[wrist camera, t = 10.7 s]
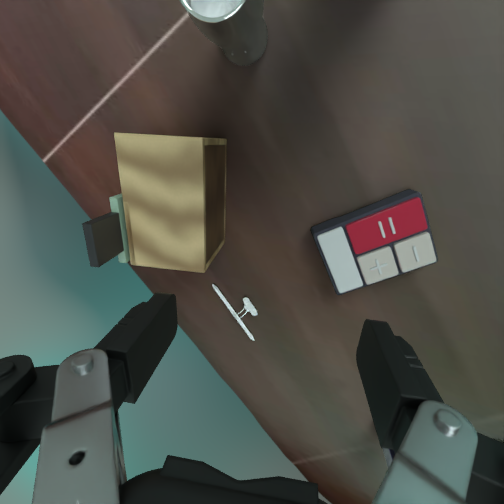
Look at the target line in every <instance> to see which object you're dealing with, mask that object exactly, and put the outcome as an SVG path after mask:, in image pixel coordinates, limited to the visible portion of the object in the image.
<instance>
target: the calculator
mask: <svg viewBox="0 0 504 504" xmlns="http://www.w3.org/2000/svg"><path fill="white" fill-rule="evenodd" d="M311 233H312V235H313V238H314V240H315V243H316V245H317V247H318V250H319V252H320V255H321V257H322V260H323V262H324V265H325V267H326V270H327V272H328V275H329V277H330V280H331V282H332V285H333V287H334V289H335V292H336V294H337V295H341V294H344V293H347V292H350V291H353V290H356V289H359V288H362V287H365V286H368V285H371V284H374V283H377V282H380V281H383V280H386V279H389V278H392V277H395V276H398V275H401V274H404V273H407V272H410V271H413V270H416V269H419V268H422V267H425V266H428V265H430V264H433V263H436V262H437V261H438V256H437V252H436V248H435V244H434V241H433V237H432V233H431V229H430V225H429V221H428V217H427V214H426V210H425V206H424V202H423V198H422V195H421V193H420V192H417V191H414V190H411V189H408V190H405V191H403V192H400V193H398V194H395V195H393V196H391V197H388V198H386V199H383V200H381V201H378V202H376V203H373V204H371V205H368V206H366V207H363V208H361V209H358V210H356V211H353V212H351V213H348V214H346V215H344V216H341V217H338V218H333V219H331V220H328V221H326V222H323V223H321V224H318V225H316V226H313V227H312V228H311Z"/></svg>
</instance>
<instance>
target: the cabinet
mask: <svg viewBox="0 0 504 504" xmlns="http://www.w3.org/2000/svg"><path fill="white" fill-rule="evenodd" d="M114 137H115V145H116V153H117V160H118V168H119V175H120V183H121V191H122V198H123V206H124V214H125V221H126V229H127V237H128V244H129V252H130V259H131V265H138V266H147V267H156V268H165V269H174V270H183V271H191V272H200V273H205V271H206V270H207V268H208V267H209V265H210V264H211V262H212V261H213V259H214V258H215V256H216V255H217V253H218V252H219V250H220V249H221V247H222V246H223V244H224V243H225V213H226V152H227V139H222V138H205V137H188V136H171V135H154V134H133V133H114Z"/></svg>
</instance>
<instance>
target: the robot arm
mask: <svg viewBox="0 0 504 504" xmlns="http://www.w3.org/2000/svg"><path fill="white" fill-rule="evenodd" d="M176 331H177V306H176V296H175V295H174V294H168V293H160V292H157V293H155V294H154V295H153V296H152V298H151V299H150V300H149V301H148V302H142V303H141V304H138V305H137V306H135V307H133V308H132V309H131V310H130V311H129V312H128V313H127V314H126V315H125V316H124V318H122V319H121V320H120V321H119V322H118V325H117V324H116V325H115V327H113V329H112V330H111V331H110V332H109V333H108V334H107V335H106V336H105V337H104V338H103V339H102V340H101V341H100V342H99V343H98V344H97V345H96V346H95V347H94V348H93V349H85V350H82V351H79V352H76V353H74V354H72V355H70V356H69V357H67V358H66V359H65V360H64V361H63V362H62V363H61V364H60V365H52V366H43V367H34V365H33V363H32V360H31V358H30V357H28V356H25V355H13V356H9V357H5V358H2V359H0V495H1V494H2V492H3V491H4V490H5V488H6V487H7V486H8V484H9V483H10V482H11V480H12V479H13V478H14V477H15V475H16V474H17V473H18V471H19V470H20V469H21V468H22V466H23V465H24V464H25V462H26V461H27V460H28V458H29V457H30V456H31V454H32V453H33V452H34V451H35V449H36V448H37V447H38V445H39V444H40V450H39V457H38V464H37V471H36V478H35V485H34V492H33V499H32V504H327V503H326V502H324V501H322V500H320V499H319V498H318V485H317V484H316V483H311V482H306V481H301V480H295V479H290V478H285V477H279V476H278V477H269V478H260V479H251V480H236V479H234V478H232V477H230V476H228V475H227V474H225V473H223V472H221V471H219V470H217V469H215V468H214V467H212V466H210V465H208V464H206V463H204V462H201V461H196V460H191V459H186V458H181V457H176V456H170V455H168V456H167V458H166V461H165V463H164V465H163V468H160V469H155V470H151V471H147V472H145V473H142V474H140V475H138V476H135V477H134V478H132V479H130V480H128V481H127V477H126V471H125V464H124V456H123V447H122V439H121V430H120V422H119V414H118V409H119V407H120V406H121V404H122V403H123V402H128V403H134V404H135V402H136V401H137V399H138V397H139V396H140V394H141V392H142V391H143V389H144V387H145V386H146V384H147V382H148V380H149V379H150V377H151V376H152V374H153V372H154V370H155V369H156V367H157V366H158V364H159V362H160V361H161V359H162V357H163V356H164V354H165V352H166V351H167V349H168V347H169V346H170V344H171V342H172V340H173V339H174V337H175V335H176ZM356 360H357V366H358V369H359V373H360V376H361V380H362V383H363V387H364V390H365V394H366V397H367V401H368V404H369V407H370V411H371V414H372V418H373V421H374V425H375V428H376V432H377V435H378V439H379V442H380V446H381V448H386V449H392V450H394V451H395V456H394V458H393V460H392V462H391V464H390V466H389V468H388V471H387V473H386V475H385V477H384V479H383V481H382V483H381V485H380V487H379V489H378V491H377V493H376V496H375V498H374V500H373V502H372V504H504V443H501V442H499V441H496V440H494V439H492V438H489V437H487V436H484V435H482V434H480V433H478V432H476V430H475V428H474V427H473V425H472V424H471V423H470V421H469V420H468V419H467V418H466V417H465V416H464V415H463V414H461V413H460V412H459V411H457V410H456V409H454V408H453V407H451V406H449V405H447V404H445V403H444V402H443V400H442V398H441V397H440V395H439V393H438V391H437V390H436V388H435V386H434V384H433V383H432V381H431V379H430V378H429V376H428V374H427V372H426V371H425V369H423V365H422V364H421V362H420V360H418V357H417V355H416V353H415V352H414V350H413V348H412V346H410V345H409V344H408V343H407V342H406V341H405V340H404V339H403V338H402V337H401V336H394V334H393V332H392V330H391V328H390V326H389V324H388V323H387V322H385V321H377V320H369V319H366V320H365V322H364V325H363V329H362V332H361V336H360V340H359V344H358V347H357V353H356Z"/></svg>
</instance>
